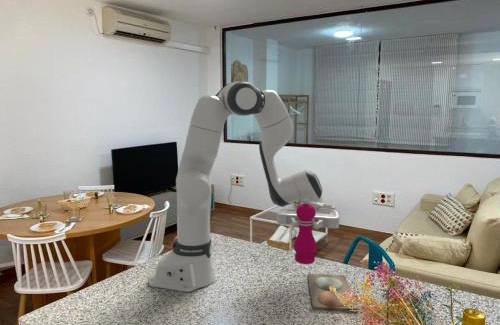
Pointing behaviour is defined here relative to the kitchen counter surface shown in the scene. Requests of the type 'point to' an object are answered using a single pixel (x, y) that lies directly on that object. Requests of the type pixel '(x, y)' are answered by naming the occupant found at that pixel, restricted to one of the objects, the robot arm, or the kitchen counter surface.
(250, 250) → the kitchen counter surface
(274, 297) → the kitchen counter surface
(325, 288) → the colour board
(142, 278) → the kitchen counter surface
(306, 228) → the pepper mill
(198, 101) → the robot arm
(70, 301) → the kitchen counter surface
